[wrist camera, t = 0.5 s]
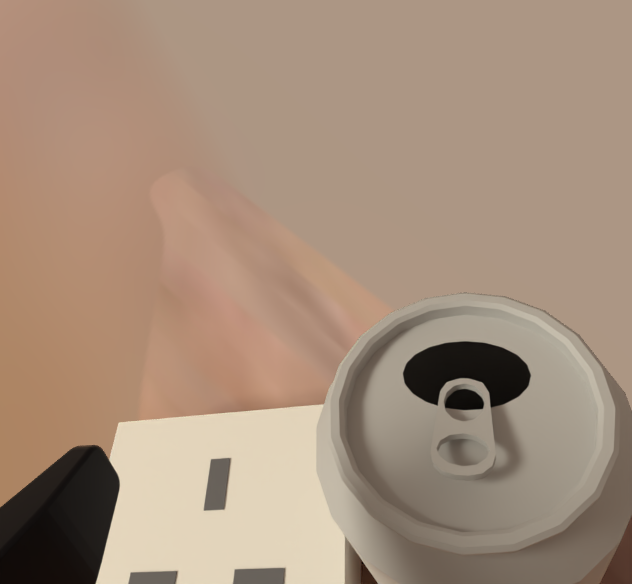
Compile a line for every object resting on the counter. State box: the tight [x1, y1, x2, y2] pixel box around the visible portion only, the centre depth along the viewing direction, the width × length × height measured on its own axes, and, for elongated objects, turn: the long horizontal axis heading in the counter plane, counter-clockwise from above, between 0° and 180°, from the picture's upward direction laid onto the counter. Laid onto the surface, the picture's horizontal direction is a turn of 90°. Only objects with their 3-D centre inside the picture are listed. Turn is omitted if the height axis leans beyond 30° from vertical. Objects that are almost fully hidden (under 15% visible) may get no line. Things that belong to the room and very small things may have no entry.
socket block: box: [96, 404, 361, 584], centre depth 23 cm, size 10×10×3 cm
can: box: [316, 293, 632, 584], centre depth 17 cm, size 8×8×12 cm
